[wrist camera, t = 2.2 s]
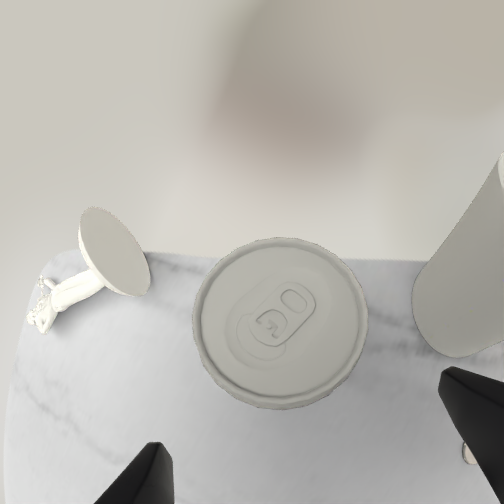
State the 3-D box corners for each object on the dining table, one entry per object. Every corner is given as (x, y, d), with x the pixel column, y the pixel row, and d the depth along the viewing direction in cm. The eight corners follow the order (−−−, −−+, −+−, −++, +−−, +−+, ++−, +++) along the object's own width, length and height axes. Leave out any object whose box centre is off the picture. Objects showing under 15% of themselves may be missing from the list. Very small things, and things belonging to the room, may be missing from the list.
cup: (482, 371, 15) (603, 314, 5) (398, 335, 18) (503, 243, 8) (497, 280, 19) (582, 192, 8) (423, 243, 21) (490, 127, 11)
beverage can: (227, 372, 18) (151, 315, 8) (279, 321, 19) (275, 205, 9) (281, 423, 16) (283, 450, 6) (334, 368, 17) (406, 303, 7)
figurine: (69, 249, 14) (-9, 331, 15) (151, 315, 18) (57, 372, 20) (91, 190, 19) (14, 271, 21) (150, 249, 24) (66, 312, 25)
